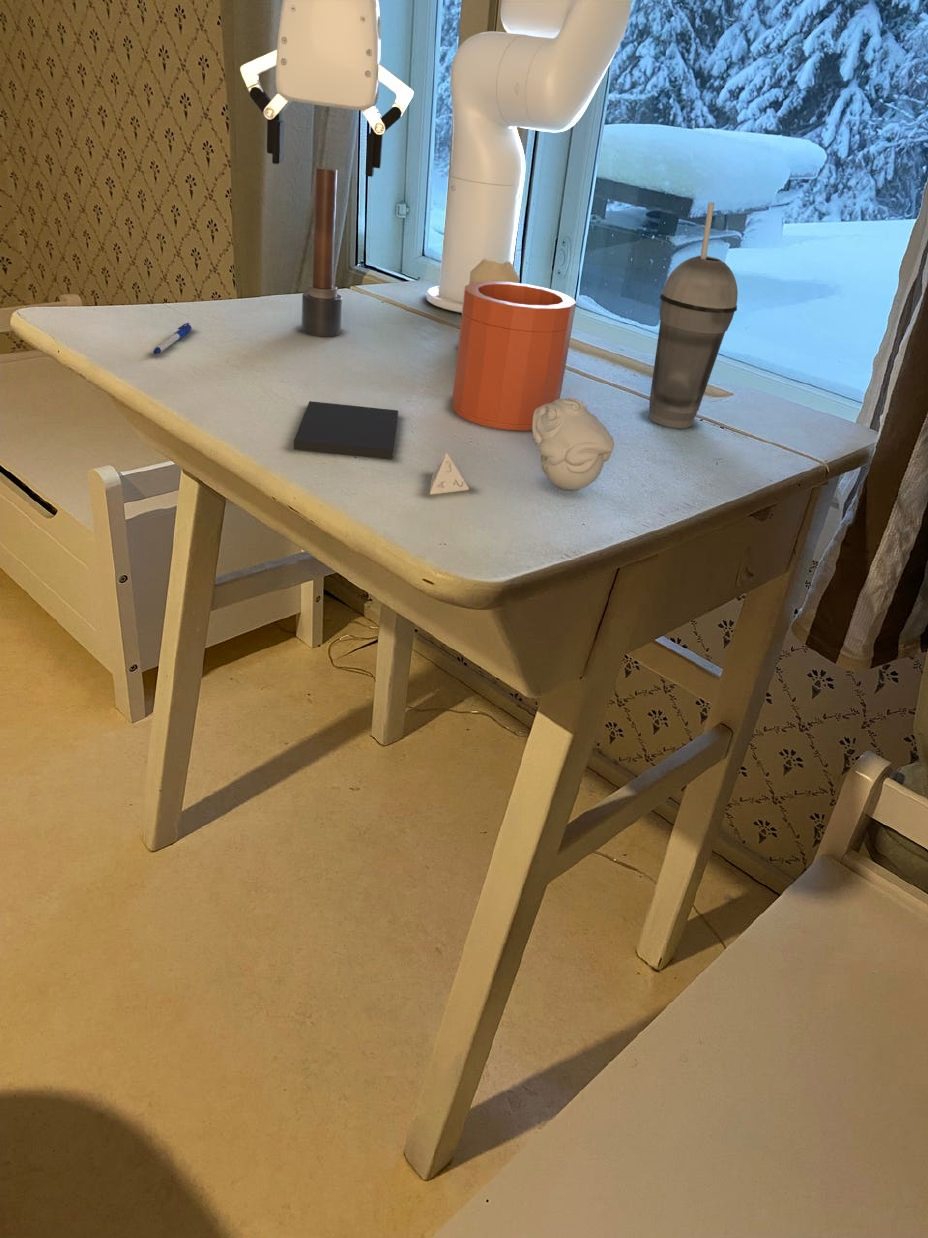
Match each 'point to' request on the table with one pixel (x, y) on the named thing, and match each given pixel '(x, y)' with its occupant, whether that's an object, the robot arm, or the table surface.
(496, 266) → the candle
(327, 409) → the mat
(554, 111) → the robot arm
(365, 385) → the table surface
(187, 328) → the blue and white marker
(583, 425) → the frog figurine
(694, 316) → the beverage cup
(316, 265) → the brush
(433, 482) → the tetrahedral die
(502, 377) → the jar
